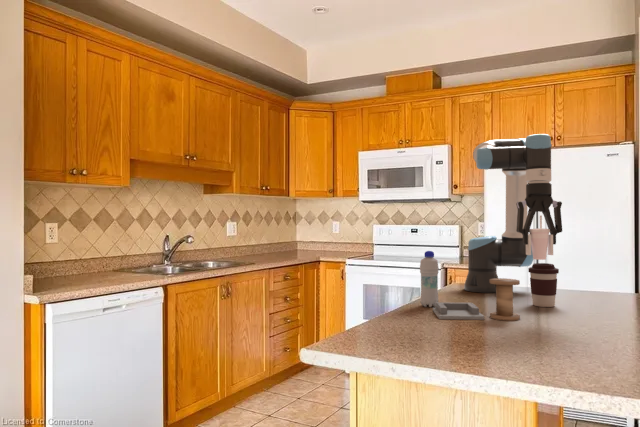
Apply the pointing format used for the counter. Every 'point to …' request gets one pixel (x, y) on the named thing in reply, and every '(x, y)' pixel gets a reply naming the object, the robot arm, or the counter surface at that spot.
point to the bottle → (429, 280)
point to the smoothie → (539, 242)
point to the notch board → (457, 311)
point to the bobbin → (504, 299)
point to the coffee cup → (543, 284)
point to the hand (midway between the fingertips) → (539, 254)
